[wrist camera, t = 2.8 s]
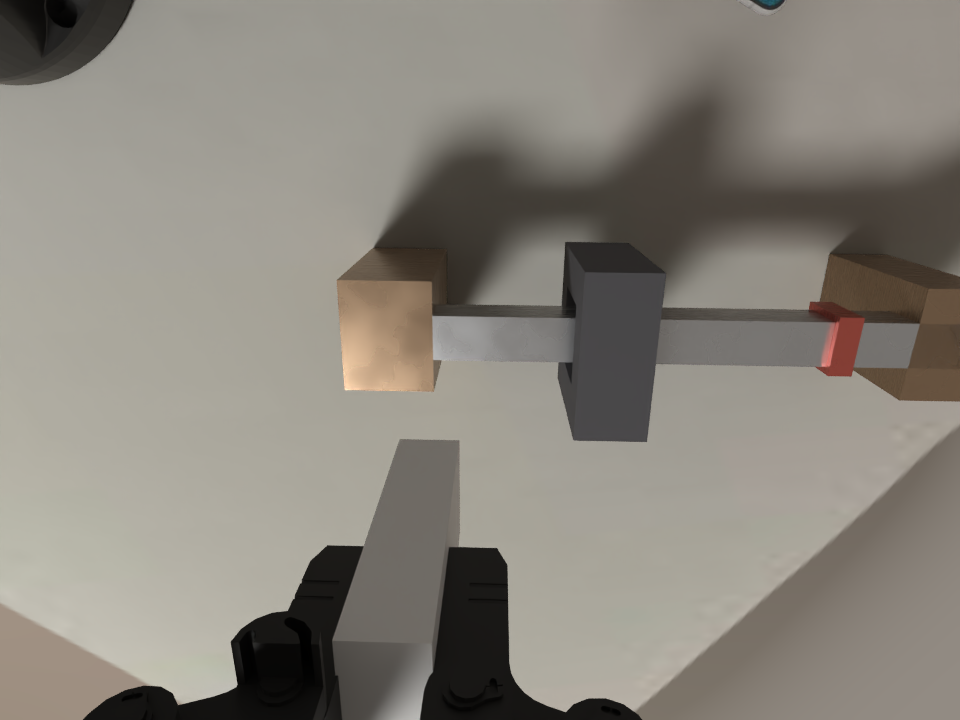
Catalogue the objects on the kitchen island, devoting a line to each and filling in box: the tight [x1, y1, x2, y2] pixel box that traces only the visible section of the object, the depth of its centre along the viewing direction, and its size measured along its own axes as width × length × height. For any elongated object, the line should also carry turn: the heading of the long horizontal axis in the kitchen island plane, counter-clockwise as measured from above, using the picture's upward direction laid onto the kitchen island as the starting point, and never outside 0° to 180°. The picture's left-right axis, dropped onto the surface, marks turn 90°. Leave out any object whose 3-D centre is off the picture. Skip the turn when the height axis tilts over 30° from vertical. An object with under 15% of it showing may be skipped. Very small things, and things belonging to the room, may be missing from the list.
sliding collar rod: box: [337, 248, 960, 401], centre depth 30 cm, size 5×28×8 cm, turn 89°
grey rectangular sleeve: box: [558, 242, 666, 442], centre depth 27 cm, size 7×3×7 cm, turn 179°
